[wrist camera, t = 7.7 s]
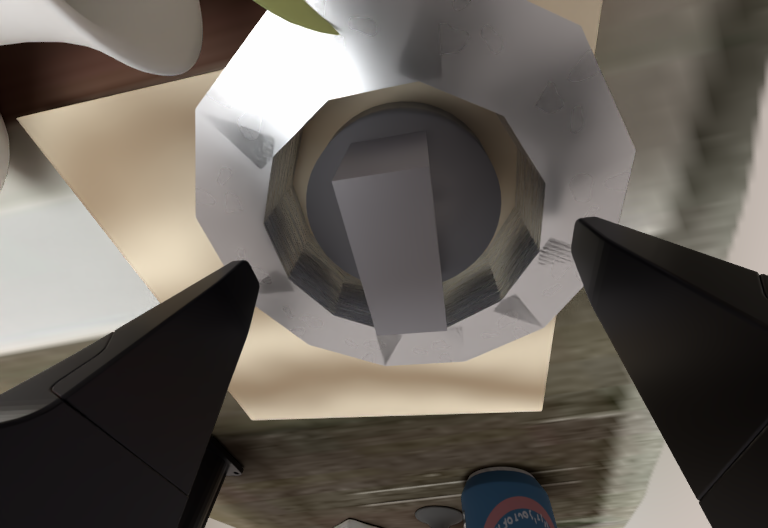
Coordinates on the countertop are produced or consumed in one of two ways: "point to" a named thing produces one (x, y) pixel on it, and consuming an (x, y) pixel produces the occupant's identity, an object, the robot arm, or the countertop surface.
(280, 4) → the flower in vase
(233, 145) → the white faceted ring
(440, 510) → the sundae
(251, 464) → the countertop surface
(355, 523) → the skincare box
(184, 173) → the board
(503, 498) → the soda can
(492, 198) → the cap
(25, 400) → the robot arm
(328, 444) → the countertop surface
